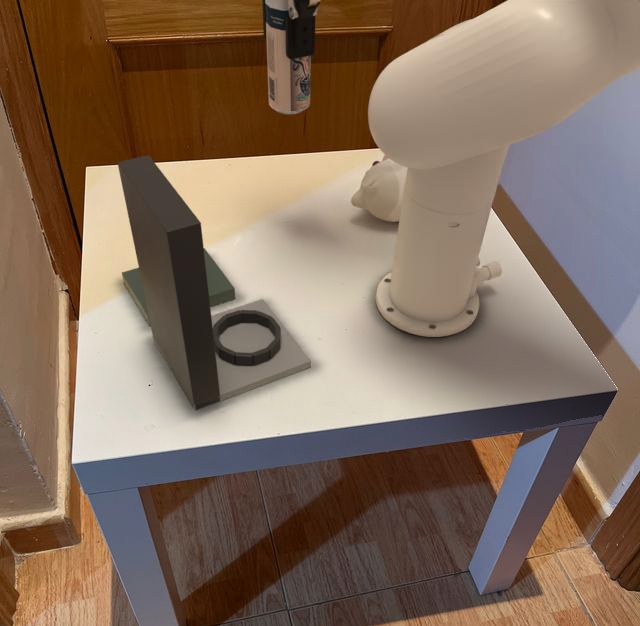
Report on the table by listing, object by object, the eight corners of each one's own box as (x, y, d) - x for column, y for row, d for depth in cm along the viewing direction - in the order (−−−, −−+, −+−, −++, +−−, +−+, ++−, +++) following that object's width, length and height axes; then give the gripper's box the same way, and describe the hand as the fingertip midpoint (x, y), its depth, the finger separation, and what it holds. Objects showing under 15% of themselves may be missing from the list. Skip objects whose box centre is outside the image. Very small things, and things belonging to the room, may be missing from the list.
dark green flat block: (205, 259, 89) (203, 235, 86) (235, 299, 84) (233, 276, 81) (123, 283, 85) (118, 260, 83) (150, 327, 80) (145, 303, 78)
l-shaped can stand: (263, 304, 84) (256, 129, 67) (311, 367, 77) (317, 189, 60) (153, 341, 79) (117, 162, 62) (194, 411, 72) (166, 232, 55)
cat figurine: (456, 134, 93) (363, 145, 87) (477, 188, 92) (384, 202, 86) (421, 173, 102) (334, 185, 96) (440, 222, 101) (353, 238, 95)
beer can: (304, 119, 78) (304, 1, 69) (264, 113, 79) (259, -4, 70) (314, 100, 81) (316, -15, 72) (275, 95, 82) (272, -20, 73)
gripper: (371, -157, 57) (357, 70, 71) (282, -191, 67) (285, 15, 81) (290, -150, 55) (292, 84, 69) (210, -187, 65) (226, 25, 79)
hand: (288, 44), depth 75 cm, fingers closed on beer can, 4 cm apart
